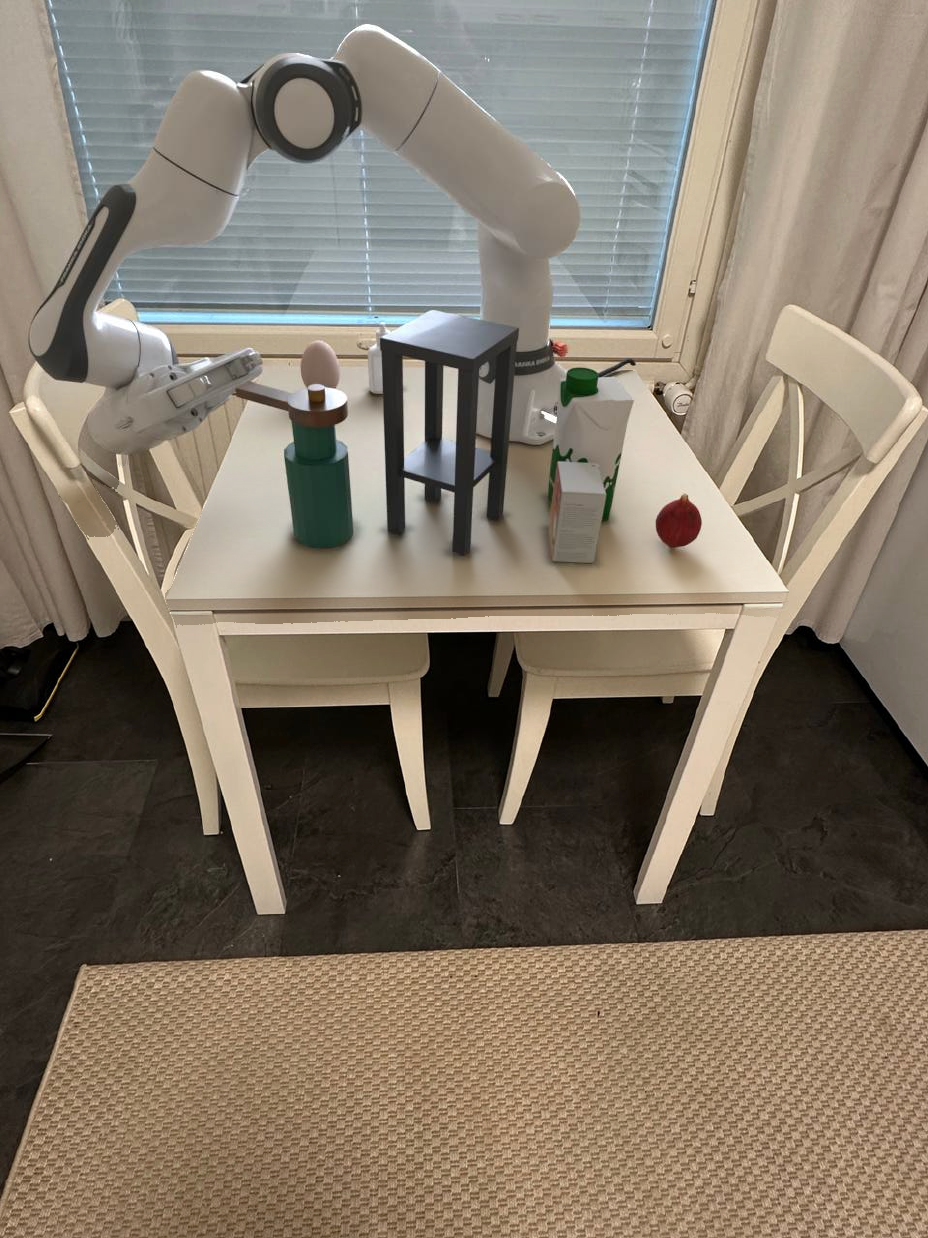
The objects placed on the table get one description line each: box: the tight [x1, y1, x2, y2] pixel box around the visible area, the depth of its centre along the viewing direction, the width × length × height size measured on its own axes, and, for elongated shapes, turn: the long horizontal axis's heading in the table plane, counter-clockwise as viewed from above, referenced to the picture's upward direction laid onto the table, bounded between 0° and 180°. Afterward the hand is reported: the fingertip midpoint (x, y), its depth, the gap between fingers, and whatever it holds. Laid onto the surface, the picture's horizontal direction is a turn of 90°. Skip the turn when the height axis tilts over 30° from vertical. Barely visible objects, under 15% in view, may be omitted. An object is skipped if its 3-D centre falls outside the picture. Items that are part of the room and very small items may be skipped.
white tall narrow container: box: [367, 322, 391, 395], centre depth 135 cm, size 4×6×12 cm
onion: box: [655, 492, 703, 549], centre depth 99 cm, size 6×6×8 cm
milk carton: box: [547, 367, 635, 521], centre depth 102 cm, size 9×9×20 cm
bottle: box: [283, 420, 354, 549], centre depth 96 cm, size 8×8×17 cm
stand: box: [380, 309, 519, 557], centre depth 96 cm, size 12×12×26 cm
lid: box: [235, 381, 349, 428], centre depth 91 cm, size 15×7×3 cm, turn 62°
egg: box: [300, 340, 341, 390], centre depth 132 cm, size 7×7×10 cm
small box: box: [547, 461, 606, 564], centre depth 98 cm, size 8×6×10 cm
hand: (231, 370), depth 93 cm, fingers open, 8 cm apart
